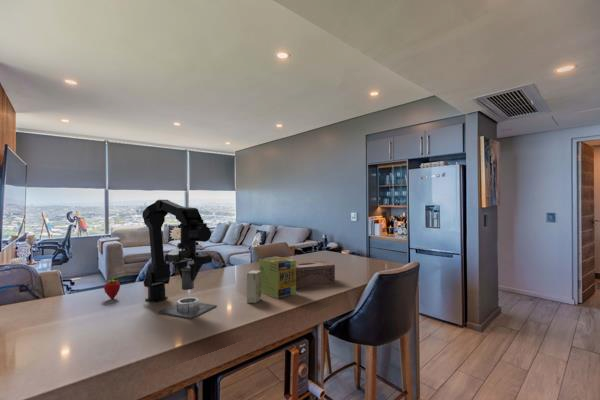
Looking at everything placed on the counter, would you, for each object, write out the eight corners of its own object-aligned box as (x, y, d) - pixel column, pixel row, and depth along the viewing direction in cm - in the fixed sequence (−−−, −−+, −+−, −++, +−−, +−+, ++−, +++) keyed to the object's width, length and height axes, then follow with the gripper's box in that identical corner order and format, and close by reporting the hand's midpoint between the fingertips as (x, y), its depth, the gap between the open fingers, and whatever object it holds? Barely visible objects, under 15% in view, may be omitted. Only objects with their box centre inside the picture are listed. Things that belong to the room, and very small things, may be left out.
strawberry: (103, 303, 122) (103, 278, 122) (104, 298, 128) (104, 275, 128) (120, 300, 125) (120, 277, 125) (120, 296, 131) (120, 273, 131)
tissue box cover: (287, 289, 142) (287, 268, 143) (279, 282, 156) (279, 263, 156) (334, 284, 151) (334, 264, 151) (323, 277, 165) (323, 260, 165)
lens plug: (177, 289, 112) (177, 268, 112) (187, 286, 117) (187, 265, 117) (188, 290, 110) (188, 269, 110) (197, 287, 115) (198, 266, 115)
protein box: (278, 299, 126) (278, 263, 127) (258, 291, 138) (258, 258, 138) (296, 294, 133) (296, 260, 134) (276, 287, 145) (276, 255, 145)
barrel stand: (157, 313, 110) (157, 303, 110) (185, 301, 123) (185, 293, 123) (191, 319, 104) (191, 308, 104) (216, 306, 117) (216, 297, 117)
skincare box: (256, 303, 121) (256, 273, 121) (246, 302, 121) (246, 273, 122) (261, 298, 127) (261, 270, 127) (251, 298, 128) (251, 269, 128)
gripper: (153, 241, 110) (152, 283, 110) (192, 243, 103) (192, 288, 103) (176, 238, 120) (175, 276, 120) (213, 240, 113) (212, 280, 113)
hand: (188, 280), depth 114 cm, fingers closed on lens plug, 4 cm apart
